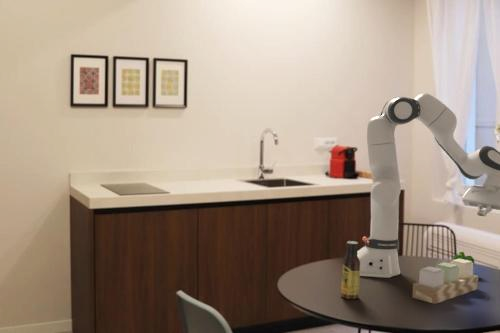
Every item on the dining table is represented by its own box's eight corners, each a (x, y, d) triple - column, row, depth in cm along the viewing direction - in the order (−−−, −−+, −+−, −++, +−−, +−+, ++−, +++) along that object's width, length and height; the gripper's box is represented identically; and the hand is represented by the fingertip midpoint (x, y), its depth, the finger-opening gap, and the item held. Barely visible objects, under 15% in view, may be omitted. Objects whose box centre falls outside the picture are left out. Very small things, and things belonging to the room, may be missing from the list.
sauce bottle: (338, 294, 219) (341, 239, 218) (356, 294, 220) (358, 239, 218) (343, 300, 213) (345, 243, 211) (360, 300, 213) (363, 244, 212)
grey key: (428, 285, 221) (429, 266, 220) (443, 289, 217) (444, 269, 216) (418, 288, 217) (419, 268, 217) (433, 292, 213) (434, 272, 212)
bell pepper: (464, 271, 255) (465, 248, 254) (477, 277, 247) (478, 252, 246) (447, 273, 252) (448, 249, 251) (460, 278, 244) (461, 253, 243)
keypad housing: (455, 283, 237) (456, 271, 236) (477, 289, 230) (478, 276, 230) (412, 297, 218) (413, 283, 217) (434, 304, 211) (435, 289, 210)
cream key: (457, 276, 234) (458, 258, 234) (472, 279, 230) (473, 261, 229) (449, 278, 230) (450, 260, 230) (464, 282, 226) (465, 263, 225)
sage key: (443, 280, 228) (444, 261, 227) (458, 284, 223) (459, 265, 223) (434, 283, 224) (435, 264, 223) (449, 287, 219) (450, 267, 219)
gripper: (467, 180, 248) (453, 206, 242) (517, 185, 232) (503, 213, 227) (472, 190, 251) (459, 216, 246) (522, 196, 236) (508, 224, 230)
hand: (480, 215), depth 236 cm, fingers closed
